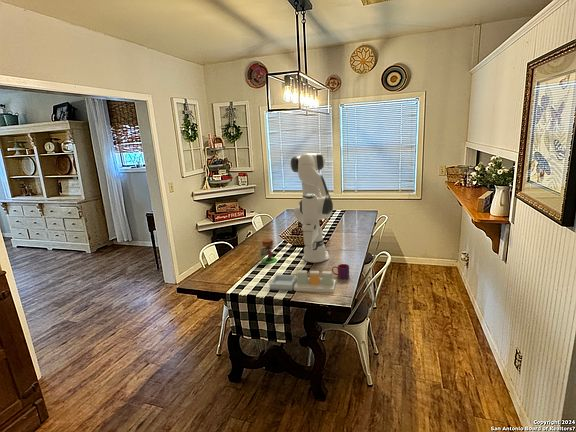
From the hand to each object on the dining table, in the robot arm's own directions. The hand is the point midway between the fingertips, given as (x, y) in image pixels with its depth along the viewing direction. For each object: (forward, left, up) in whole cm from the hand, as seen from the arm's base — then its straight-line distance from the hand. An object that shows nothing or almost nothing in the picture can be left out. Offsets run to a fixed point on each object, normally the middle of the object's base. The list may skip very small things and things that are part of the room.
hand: (312, 248), depth 177 cm
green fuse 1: (0, -7, -21) cm, 22 cm away
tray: (0, -18, -23) cm, 29 cm away
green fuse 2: (0, +7, -21) cm, 22 cm away
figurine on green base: (-37, -39, -23) cm, 58 cm away
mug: (-15, +13, -23) cm, 31 cm away
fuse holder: (0, 0, -23) cm, 23 cm away
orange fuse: (0, 0, -21) cm, 21 cm away
